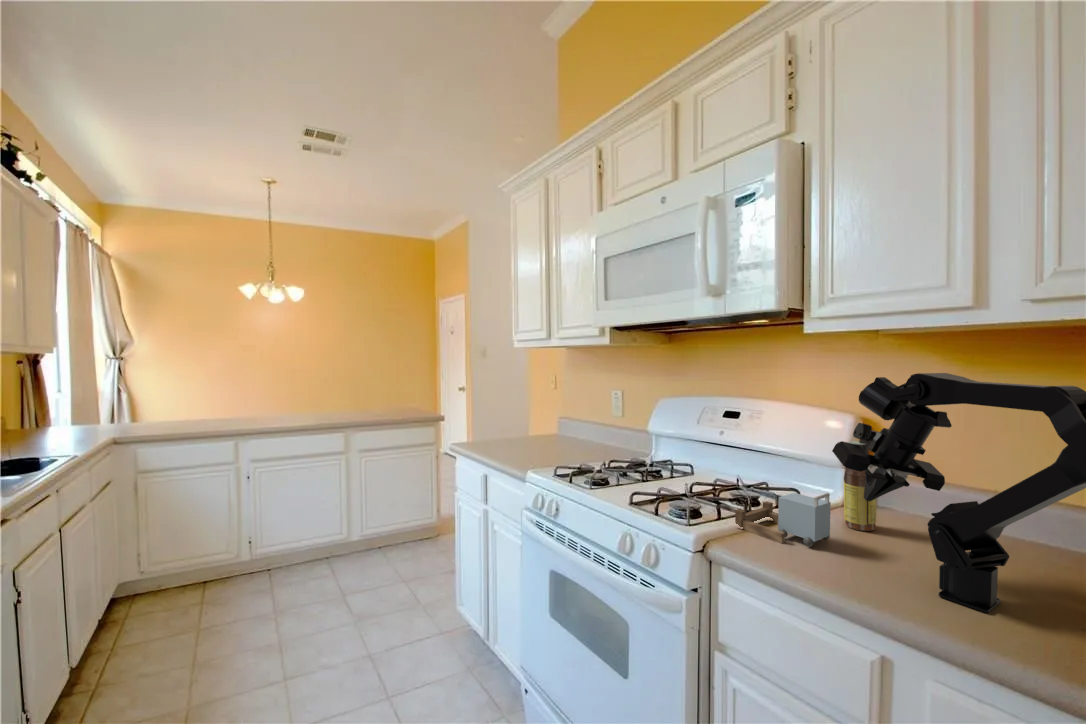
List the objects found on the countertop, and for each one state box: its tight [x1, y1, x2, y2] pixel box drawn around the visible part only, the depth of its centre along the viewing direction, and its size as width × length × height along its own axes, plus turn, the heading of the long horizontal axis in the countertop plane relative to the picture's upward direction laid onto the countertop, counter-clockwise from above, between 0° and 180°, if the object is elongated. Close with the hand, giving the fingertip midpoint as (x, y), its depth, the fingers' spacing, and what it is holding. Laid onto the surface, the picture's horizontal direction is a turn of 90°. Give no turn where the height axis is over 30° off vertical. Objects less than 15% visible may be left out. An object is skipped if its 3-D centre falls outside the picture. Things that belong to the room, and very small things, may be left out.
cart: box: [777, 492, 832, 548], centre depth 108 cm, size 8×7×10 cm
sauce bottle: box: [843, 440, 877, 532], centre depth 115 cm, size 7×6×20 cm
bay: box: [734, 501, 786, 544], centre depth 114 cm, size 11×12×4 cm
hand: (866, 499), depth 99 cm, fingers closed
